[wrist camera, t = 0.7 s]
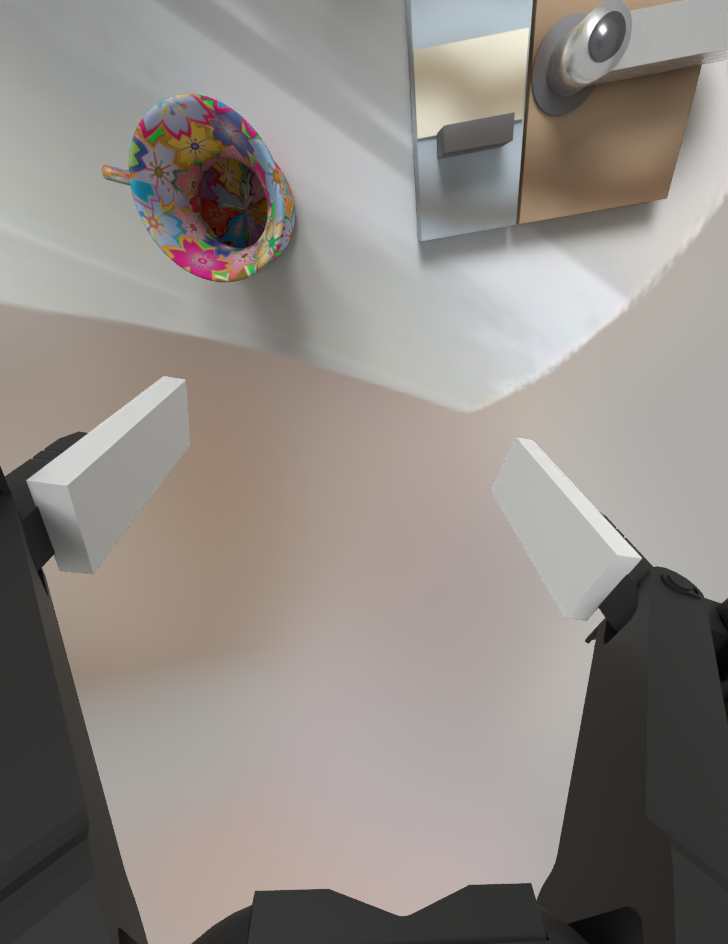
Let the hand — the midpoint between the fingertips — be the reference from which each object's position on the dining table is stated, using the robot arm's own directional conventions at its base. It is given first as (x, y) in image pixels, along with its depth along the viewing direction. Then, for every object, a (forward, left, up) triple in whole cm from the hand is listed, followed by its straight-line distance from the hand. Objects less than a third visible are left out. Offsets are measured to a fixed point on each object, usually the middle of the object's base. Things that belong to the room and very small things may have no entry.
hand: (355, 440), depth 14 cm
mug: (-11, -9, -27) cm, 30 cm away
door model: (-15, +18, -26) cm, 35 cm away
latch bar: (-15, +23, -24) cm, 36 cm away
